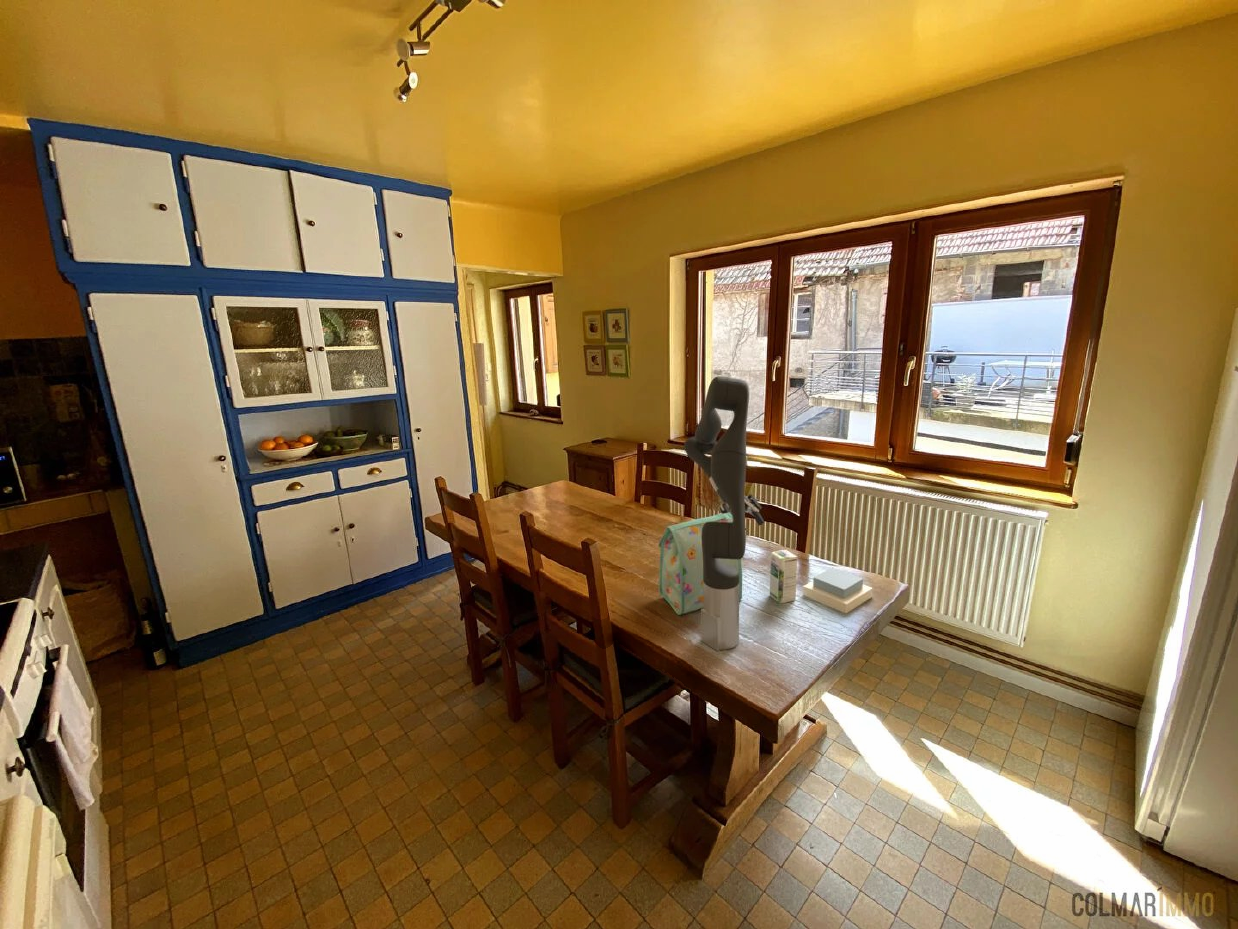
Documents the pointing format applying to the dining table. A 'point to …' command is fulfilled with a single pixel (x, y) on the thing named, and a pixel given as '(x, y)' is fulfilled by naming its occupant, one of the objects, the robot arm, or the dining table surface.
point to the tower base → (837, 600)
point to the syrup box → (783, 576)
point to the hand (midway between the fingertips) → (753, 527)
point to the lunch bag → (687, 564)
